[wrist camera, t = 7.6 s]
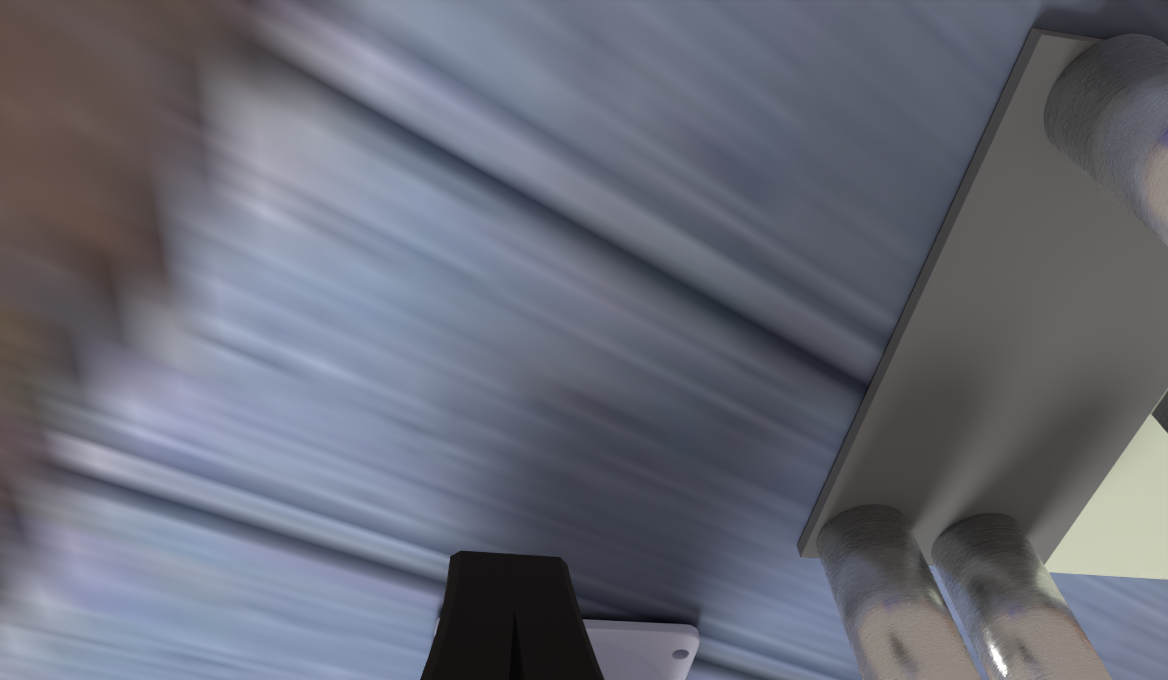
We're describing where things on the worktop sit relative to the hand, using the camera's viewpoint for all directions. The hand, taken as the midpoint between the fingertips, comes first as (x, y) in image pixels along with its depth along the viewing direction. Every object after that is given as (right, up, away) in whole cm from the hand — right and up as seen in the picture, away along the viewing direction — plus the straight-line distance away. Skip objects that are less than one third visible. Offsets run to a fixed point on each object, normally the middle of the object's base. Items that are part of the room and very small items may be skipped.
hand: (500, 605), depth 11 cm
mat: (+14, +3, +12) cm, 19 cm away
